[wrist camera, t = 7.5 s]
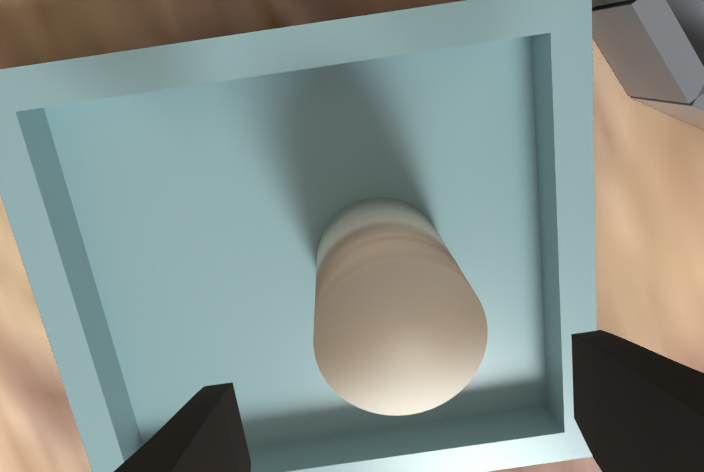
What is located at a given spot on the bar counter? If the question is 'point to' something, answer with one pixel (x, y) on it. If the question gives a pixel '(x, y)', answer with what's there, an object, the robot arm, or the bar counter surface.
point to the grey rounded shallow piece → (655, 52)
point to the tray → (309, 223)
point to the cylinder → (393, 311)
